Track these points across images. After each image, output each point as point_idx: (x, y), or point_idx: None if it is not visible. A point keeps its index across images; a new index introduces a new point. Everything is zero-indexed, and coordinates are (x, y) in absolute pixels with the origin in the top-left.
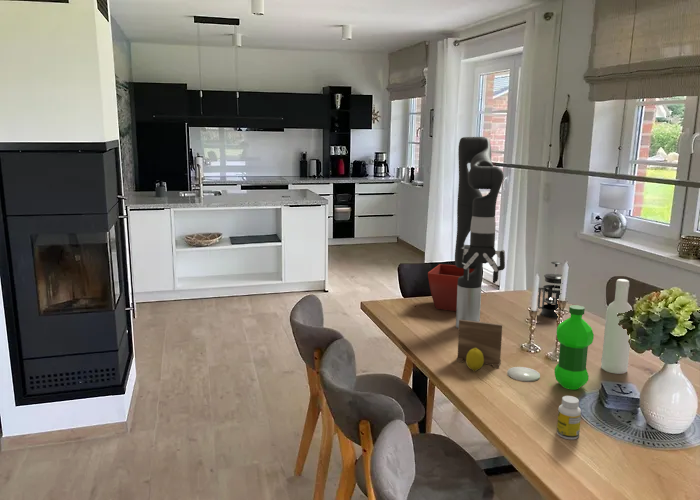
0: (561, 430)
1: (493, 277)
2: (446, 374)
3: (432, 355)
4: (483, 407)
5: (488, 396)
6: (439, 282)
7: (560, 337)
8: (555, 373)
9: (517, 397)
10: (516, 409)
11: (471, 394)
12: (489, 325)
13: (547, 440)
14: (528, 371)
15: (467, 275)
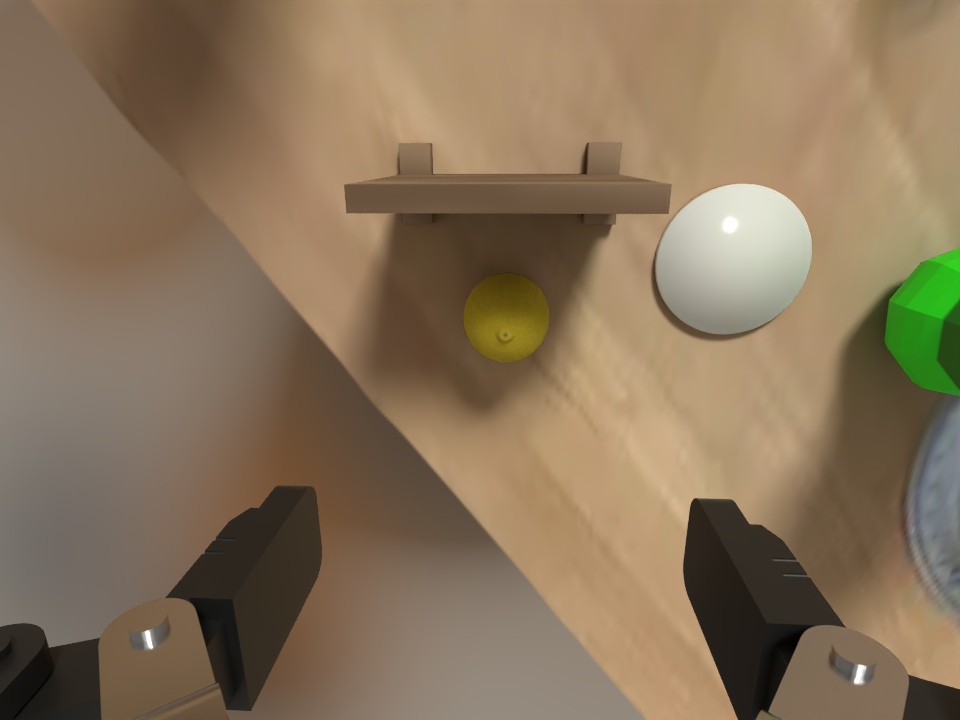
0: None
1: (717, 646)
2: (401, 377)
3: (274, 183)
4: (583, 582)
5: (592, 506)
6: None
7: None
8: (897, 354)
9: (697, 481)
10: None
11: (531, 510)
12: (574, 213)
13: None
14: (758, 232)
15: (290, 627)
